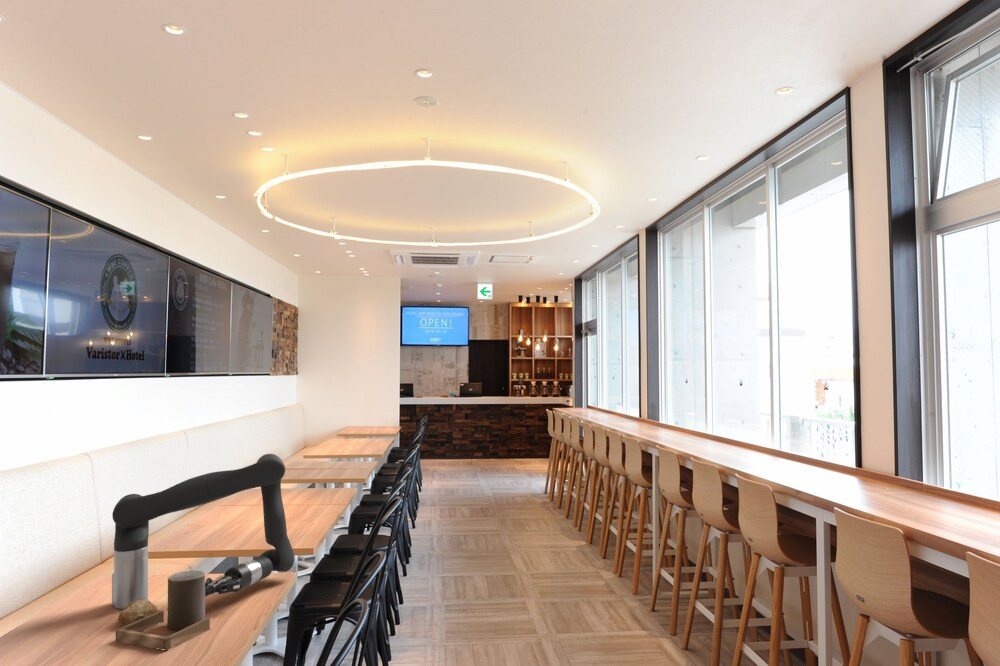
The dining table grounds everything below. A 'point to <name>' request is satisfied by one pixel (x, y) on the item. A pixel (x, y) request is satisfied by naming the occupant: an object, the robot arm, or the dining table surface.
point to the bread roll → (136, 612)
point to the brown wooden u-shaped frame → (136, 637)
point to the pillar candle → (185, 599)
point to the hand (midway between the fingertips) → (200, 594)
